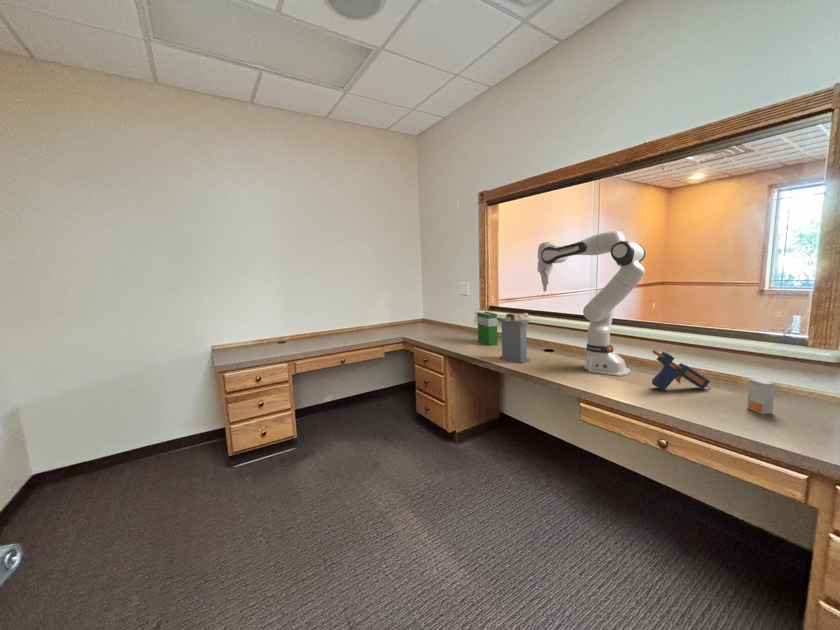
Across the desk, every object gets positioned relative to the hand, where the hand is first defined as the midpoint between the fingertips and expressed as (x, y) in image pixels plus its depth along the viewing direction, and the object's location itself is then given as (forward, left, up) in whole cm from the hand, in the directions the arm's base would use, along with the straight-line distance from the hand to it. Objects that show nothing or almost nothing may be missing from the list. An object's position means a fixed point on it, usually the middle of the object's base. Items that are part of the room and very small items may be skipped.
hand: (544, 290), depth 218 cm
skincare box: (-103, +21, -43) cm, 113 cm away
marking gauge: (+10, +15, -17) cm, 25 cm away
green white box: (+54, -8, -43) cm, 70 cm away
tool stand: (+10, +19, -43) cm, 48 cm away
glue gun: (-76, +13, -43) cm, 88 cm away
